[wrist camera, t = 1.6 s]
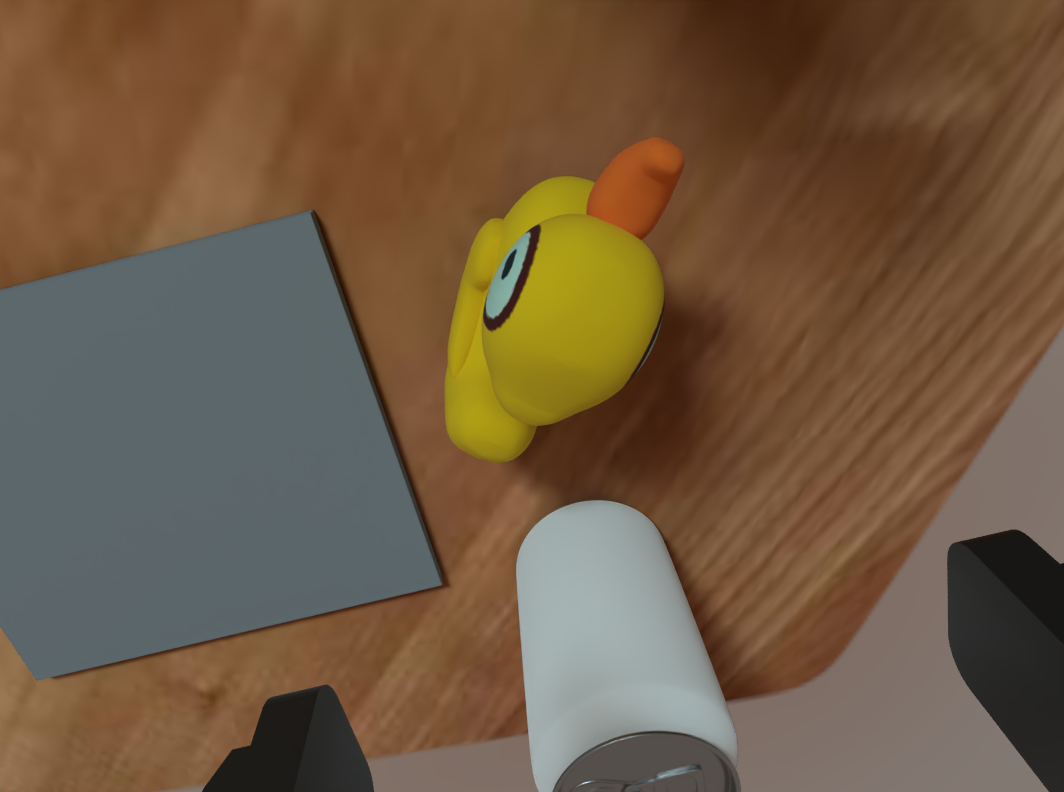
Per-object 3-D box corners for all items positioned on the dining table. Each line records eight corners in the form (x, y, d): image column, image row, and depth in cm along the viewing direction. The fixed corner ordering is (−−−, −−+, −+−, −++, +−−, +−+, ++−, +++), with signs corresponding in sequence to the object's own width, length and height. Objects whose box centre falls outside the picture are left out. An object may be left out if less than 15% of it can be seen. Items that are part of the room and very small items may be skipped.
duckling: (543, 76, 26) (581, 91, 16) (682, 151, 27) (787, 204, 18) (408, 367, 29) (377, 510, 20) (535, 421, 31) (560, 578, 22)
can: (501, 511, 32) (514, 748, 21) (654, 480, 32) (747, 702, 21) (531, 631, 35) (556, 896, 24) (673, 603, 35) (763, 857, 24)
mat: (313, 209, 27) (310, 213, 26) (442, 576, 33) (441, 585, 33) (-178, 335, 27) (-191, 340, 27) (43, 670, 34) (36, 680, 33)
